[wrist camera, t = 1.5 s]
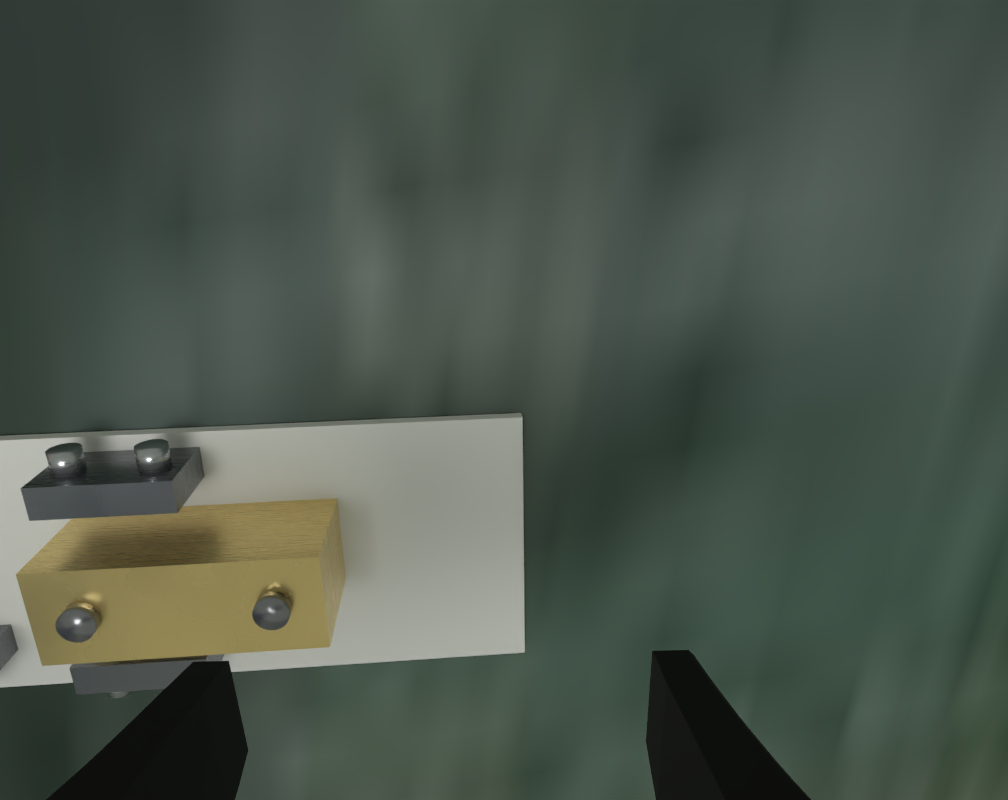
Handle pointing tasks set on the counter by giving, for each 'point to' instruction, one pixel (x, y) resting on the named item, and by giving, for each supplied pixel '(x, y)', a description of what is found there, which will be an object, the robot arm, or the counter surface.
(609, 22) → the counter surface
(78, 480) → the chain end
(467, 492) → the mat
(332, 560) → the link
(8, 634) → the chain end
